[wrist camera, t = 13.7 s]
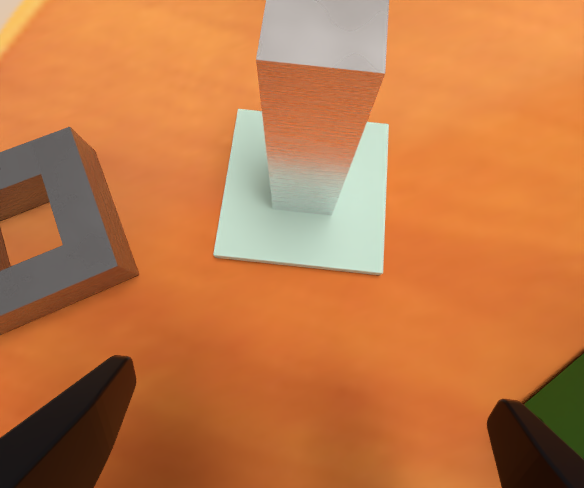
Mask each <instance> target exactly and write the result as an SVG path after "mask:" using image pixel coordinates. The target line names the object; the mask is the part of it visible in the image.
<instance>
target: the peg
mask: <svg viewBox="0 0 584 488" xmlns="http://www.w3.org/2000/svg"><path fill="white" fill-rule="evenodd" d="M388 9H389V0H266V5H265V11H264V17H263V23H262V28H261V34H260V40H259V46H258V52H257V58H256V63H257V72H258V81H259V90H260V99H261V108H262V117H263V126H264V135H265V144H266V153H267V162H268V171H269V180H270V189H271V198H272V207H273V209H277V210H286V211H295V212H304V213H313V214H322V215H330V216H332V214H333V211H334V209H335V206H336V203H337V201H338V198H339V195H340V193H341V190H342V187H343V185H344V182H345V179H346V177H347V174H348V171H349V169H350V166H351V163H352V161H353V158H354V155H355V153H356V150H357V147H358V144H359V142H360V139H361V136H362V134H363V131H364V128H365V126H366V123H367V120H368V118H369V115H370V112H371V110H372V107H373V104H374V102H375V99H376V96H377V94H378V91H379V88H380V86H381V83H382V80H383V78H384V75H385V65H386V46H387V28H388Z"/></svg>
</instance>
